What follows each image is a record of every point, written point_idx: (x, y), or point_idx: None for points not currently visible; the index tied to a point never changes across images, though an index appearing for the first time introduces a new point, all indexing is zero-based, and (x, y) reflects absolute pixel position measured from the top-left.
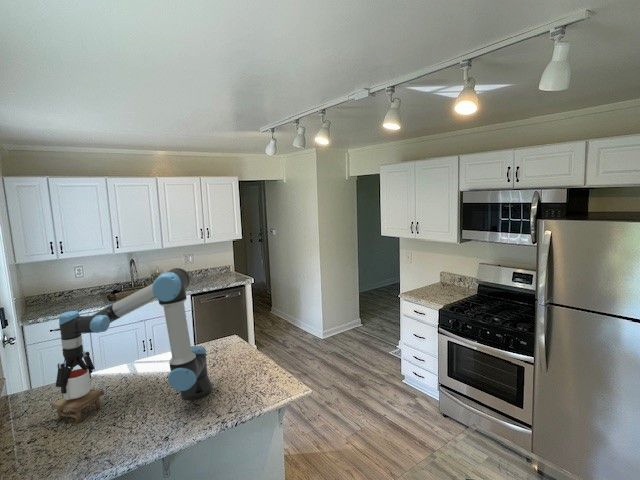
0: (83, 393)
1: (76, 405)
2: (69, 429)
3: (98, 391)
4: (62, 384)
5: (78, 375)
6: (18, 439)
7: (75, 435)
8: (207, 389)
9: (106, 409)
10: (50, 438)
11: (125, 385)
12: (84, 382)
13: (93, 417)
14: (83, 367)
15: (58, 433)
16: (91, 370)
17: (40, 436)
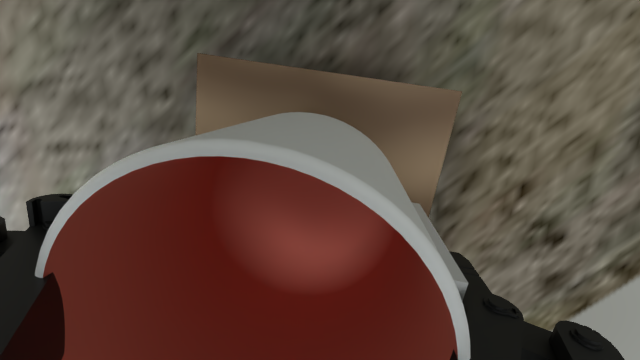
0: (342, 122)
1: (429, 118)
2: (465, 114)
3: (215, 90)
4: (570, 344)
5: (163, 330)
6: (524, 302)
7: (529, 29)
8: None
9: (273, 34)
10: (538, 158)
11: (39, 103)
12: (307, 125)
13: (354, 56)
14: (26, 353)
15: (497, 148)
16: (29, 219)
17: (513, 222)
